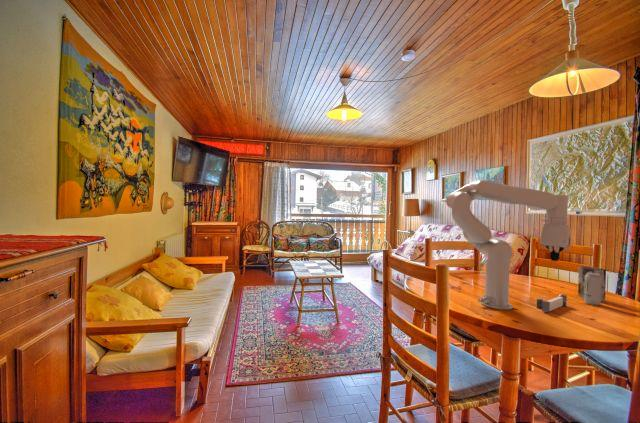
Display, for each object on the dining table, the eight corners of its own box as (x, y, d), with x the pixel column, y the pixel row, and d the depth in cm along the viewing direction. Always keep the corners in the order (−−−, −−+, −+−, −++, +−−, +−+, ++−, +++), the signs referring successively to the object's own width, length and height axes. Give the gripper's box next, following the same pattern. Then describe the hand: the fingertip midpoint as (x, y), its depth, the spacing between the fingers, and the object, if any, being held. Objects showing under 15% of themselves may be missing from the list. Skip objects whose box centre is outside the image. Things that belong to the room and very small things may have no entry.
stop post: (540, 309, 130) (540, 300, 130) (535, 307, 133) (535, 299, 133) (544, 308, 131) (544, 300, 131) (539, 307, 133) (539, 298, 133)
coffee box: (606, 301, 144) (607, 269, 144) (593, 301, 144) (594, 269, 144) (589, 295, 153) (590, 266, 153) (577, 295, 153) (578, 265, 153)
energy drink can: (581, 301, 143) (582, 271, 143) (596, 302, 142) (597, 272, 141) (588, 304, 138) (589, 274, 138) (603, 306, 136) (604, 275, 136)
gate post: (563, 306, 134) (563, 296, 134) (556, 304, 137) (557, 294, 137) (568, 306, 135) (568, 295, 135) (561, 304, 138) (561, 294, 138)
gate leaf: (542, 311, 127) (542, 301, 126) (558, 304, 136) (558, 295, 136) (547, 312, 125) (547, 302, 125) (563, 305, 134) (563, 296, 134)
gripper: (533, 220, 135) (532, 258, 136) (574, 222, 123) (572, 264, 123) (540, 220, 139) (538, 257, 140) (580, 222, 127) (578, 263, 127)
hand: (554, 260), depth 131 cm, fingers closed
